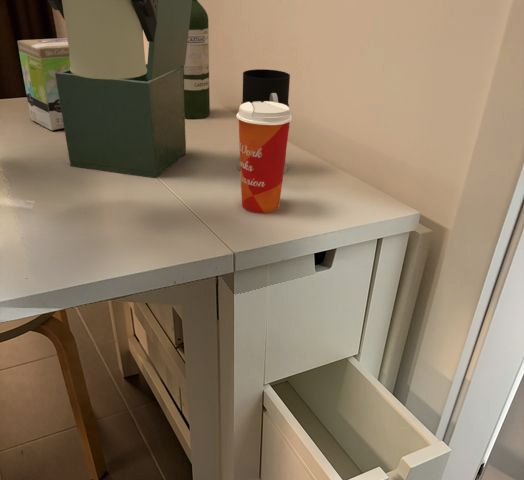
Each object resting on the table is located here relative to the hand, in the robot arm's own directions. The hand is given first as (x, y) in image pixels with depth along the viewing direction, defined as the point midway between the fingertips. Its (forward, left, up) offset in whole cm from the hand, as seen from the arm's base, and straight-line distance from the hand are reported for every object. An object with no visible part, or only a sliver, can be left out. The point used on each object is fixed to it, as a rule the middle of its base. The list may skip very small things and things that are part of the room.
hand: (115, 28), depth 68 cm
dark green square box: (-9, +18, -22) cm, 30 cm away
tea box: (-30, +36, -23) cm, 52 cm away
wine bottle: (-10, +51, -23) cm, 56 cm away
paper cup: (+18, +6, -23) cm, 30 cm away
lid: (0, +18, 0) cm, 18 cm away
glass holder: (+15, +20, -23) cm, 34 cm away
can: (0, -3, -4) cm, 5 cm away
